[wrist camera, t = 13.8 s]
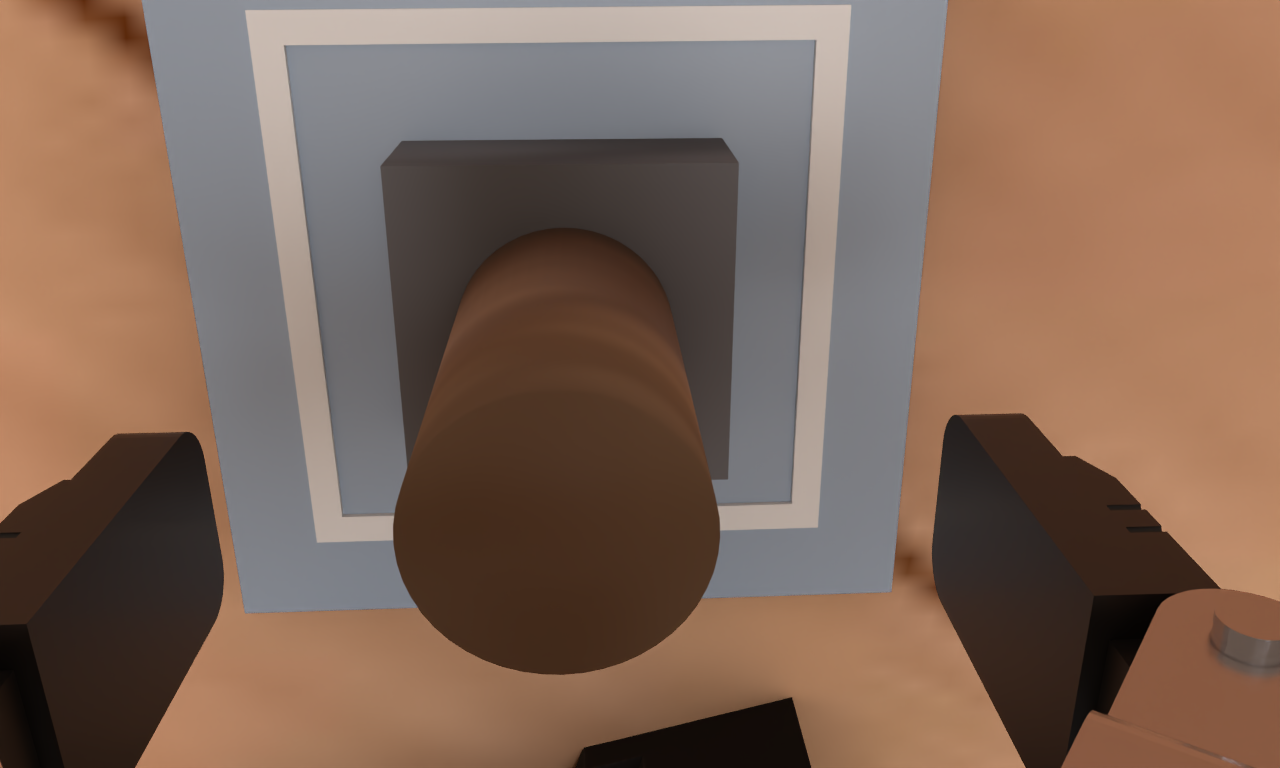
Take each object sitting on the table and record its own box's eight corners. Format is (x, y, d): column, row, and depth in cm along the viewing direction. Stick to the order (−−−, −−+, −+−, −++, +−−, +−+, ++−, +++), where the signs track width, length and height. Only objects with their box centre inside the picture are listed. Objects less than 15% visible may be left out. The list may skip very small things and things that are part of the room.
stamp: (721, 137, 17) (826, 293, 10) (714, 426, 19) (797, 735, 12) (401, 140, 17) (266, 301, 10) (425, 432, 19) (327, 753, 12)
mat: (949, -104, 17) (960, -105, 16) (886, 580, 21) (892, 595, 21) (134, -100, 16) (122, -102, 16) (250, 601, 21) (243, 616, 20)
